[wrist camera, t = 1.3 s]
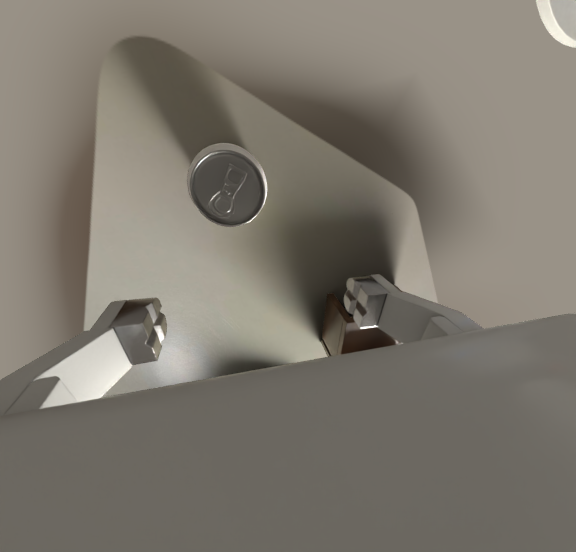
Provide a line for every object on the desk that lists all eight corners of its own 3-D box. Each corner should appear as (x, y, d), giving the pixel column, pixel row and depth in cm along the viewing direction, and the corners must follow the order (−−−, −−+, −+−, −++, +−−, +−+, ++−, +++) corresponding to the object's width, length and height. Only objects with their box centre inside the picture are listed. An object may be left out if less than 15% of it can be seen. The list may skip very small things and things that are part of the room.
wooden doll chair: (394, 284, 43) (457, 337, 31) (380, 332, 50) (427, 390, 38) (327, 293, 40) (367, 354, 29) (321, 342, 47) (352, 409, 35)
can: (192, 185, 27) (171, 210, 17) (212, 130, 25) (201, 121, 15) (242, 210, 30) (249, 243, 20) (264, 162, 27) (285, 173, 17)
